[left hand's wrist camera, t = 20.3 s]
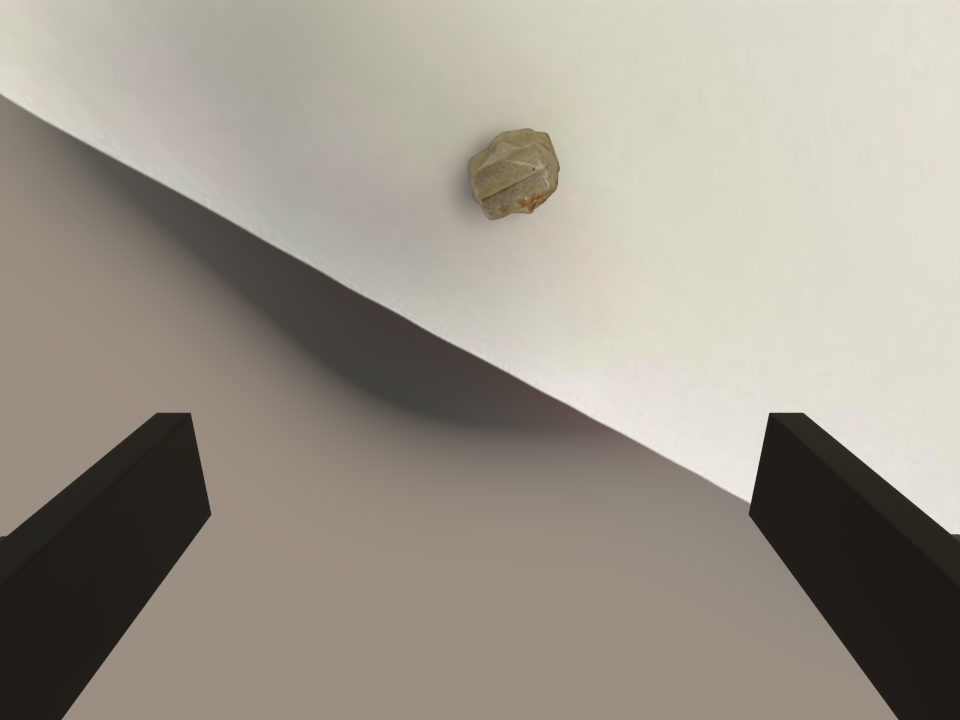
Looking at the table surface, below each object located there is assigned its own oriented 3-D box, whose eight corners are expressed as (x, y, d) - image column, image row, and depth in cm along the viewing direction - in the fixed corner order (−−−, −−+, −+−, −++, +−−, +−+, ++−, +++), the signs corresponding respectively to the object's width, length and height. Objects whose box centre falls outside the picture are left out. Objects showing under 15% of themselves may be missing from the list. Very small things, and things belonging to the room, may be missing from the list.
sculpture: (461, 150, 48) (453, 151, 34) (540, 118, 48) (565, 106, 34) (485, 215, 50) (486, 241, 36) (561, 185, 50) (593, 200, 36)
